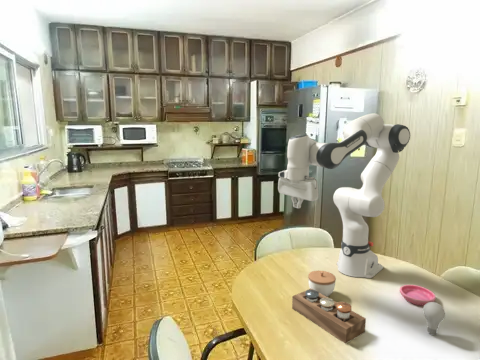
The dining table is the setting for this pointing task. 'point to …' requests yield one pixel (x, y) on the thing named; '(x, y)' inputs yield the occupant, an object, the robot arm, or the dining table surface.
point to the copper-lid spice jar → (343, 311)
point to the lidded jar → (322, 282)
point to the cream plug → (326, 304)
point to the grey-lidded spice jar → (311, 295)
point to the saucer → (417, 294)
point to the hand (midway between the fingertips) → (296, 207)
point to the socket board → (329, 318)
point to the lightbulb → (433, 316)
